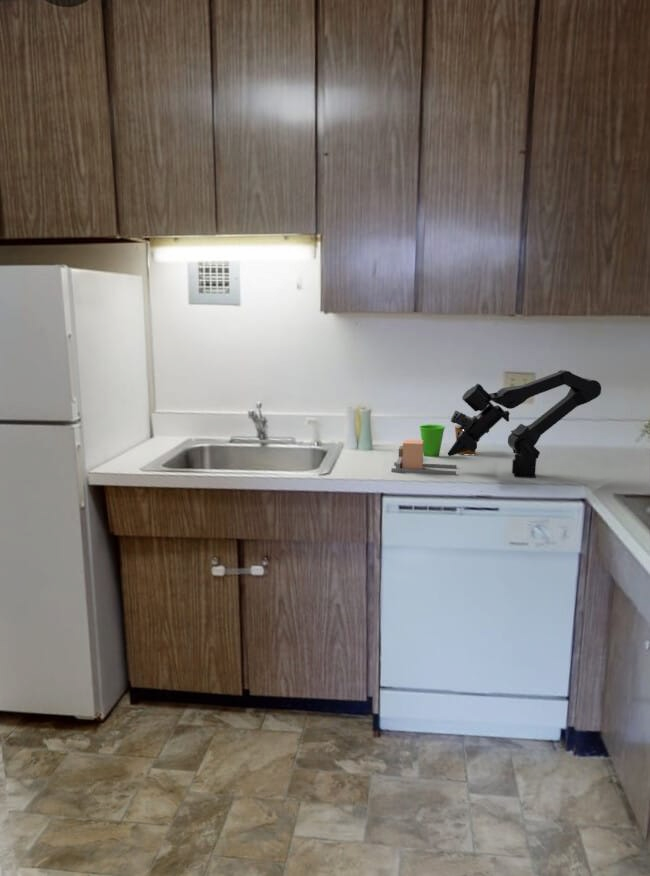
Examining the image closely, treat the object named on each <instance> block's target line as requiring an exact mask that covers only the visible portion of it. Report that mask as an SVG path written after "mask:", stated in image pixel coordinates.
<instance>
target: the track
mask: <svg viewBox="0 0 650 876" xmlns="http://www.w3.org/2000/svg"><path fill="white" fill-rule="evenodd" d="M393 465H394V466H395V467H391V469H390V471H391V473H408V474H409V473H410V474H427V475H428V474H431V475H449V476H450V475H451V476H452V475H453V476H456V475H457V470H455V469H457V468H458V467H457V464H447V463H446V464H444V463H424V462H423V468H433V469H402V468H403V457H399V456H398V458H397V461H395V462H393ZM435 468H437V469H435ZM438 468H439V469H440V470H439V469H438ZM442 469H443V470H442ZM444 469H454V470H444Z"/></svg>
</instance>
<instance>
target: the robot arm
mask: <svg viewBox="0 0 650 876" xmlns="http://www.w3.org/2000/svg"><path fill="white" fill-rule="evenodd" d="M564 385H565V386H567V387H569V388H570V389H569V390H568V393H567V394H566V396H564V397H563V398H562V399H560V400H559V401H558V402H557V403H555V404H554V405H553V406H552V407H550V409H548V410H547V411H546V412H545V413H543V414H542V415H540V416H539V417H538V418H537V419H535V421H533V422H532V423H531V424H528V425H524V424H523V423H520V424H519V425H517V427H516V428H515V429H513V430H510V434H509V435H508V438H507V444H508V446H509V448H511V449H512V451H513V454H514V458H513V459H512V463H511V472H512V474H513V477H515V478H520V477H521V478H537V475H536V474H537V473H536V472H537V470H536V468H537V467H536V466H537V459H538V458H539V456H540V454H541V453H540V450H538V449H537V447H536V444H537V443H538V441H539V439H540V438H541V436H542V435H543V434H545V433H546V432H547V431H548V430H550V429H551V428H552V427H553V426H554V425H556V424H557V423H558V422H559V421H561V420H562V419H563V418H564V417H566V416H567V415H569V414H570V413H571V412H572V411H573V410H575V409H576V408H577V407H580V406H583V405H584V404H587V403H590V402H591V401H593V400H595V399H597V398H598V397H599V396H600V395H601V394H602V386H601V383H600V382H599V381H597V380H595V379H591V378H586V377H581V376H579V375H576V374H574V373H573V372H571V371H569V370H566V369H560V370H558V371H557V372H555V373H554V372H553V373H552V374H549V375H546V376H544V377H541V378H538V379H535V380H533V381H530V382H528V383H525V384H522V385H513V386H507V387H503V388H500V389H498V391H496V392H492V393H488V391H486V390H485V389H484V387H483V386H482V385H481V384H479V383H476V384H475V385H474V386H472V387H470V388H469V389H467V390H466V391H465V393H464V394H463V395H462V398H461V399H462V400H463V401H464V403H465V404H467V406H469V407H470V408H471V409H472V410H473V411H474V412H478V411H479V413H478V414H477V415H473V417H470V416H468V415H466V413H462V412H460V411H458V410H455V411H454V412H453V414H452V417H451V418H450V423H453V424H454V423H456V424H458V425H460V427H459V429H460V430H462V432H461V433H459V432H458V434H457V440H456V439H455V442H454V443H453V445H452V446H451V448H450V449H449V451H448V452H447V455H448V456H449V457H452V456H454V455H457V454H458V453H460V452H463V451H466V450H470V451H472V452H473V451H474V450H475V449H478V443H479V441H480V440H481V438H482V437H483V436H485V434H488V433H489V432H490V430H491V429H492V428H493V427H494V426H495V425H497V423H499V422H500V421H501V419H504V420H505V421H506V422H510V412H509V410H504V409H503V408H502V407H504V408H506V409H510V410H511V409H515V408H516V407H518V406H520V405H522V404H523V403H525V402H526V401H527V400H528V399H530V398H532V397H534V396H536V395H539V394H542V393H545V392H548V391H550V390H553V389H555V388H556V389H557V388H558V387H561V386H564ZM492 402H493V403H494V404H497V405H494V404H493V403H492ZM501 406H502V407H501ZM458 455H459V454H458Z"/></svg>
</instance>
